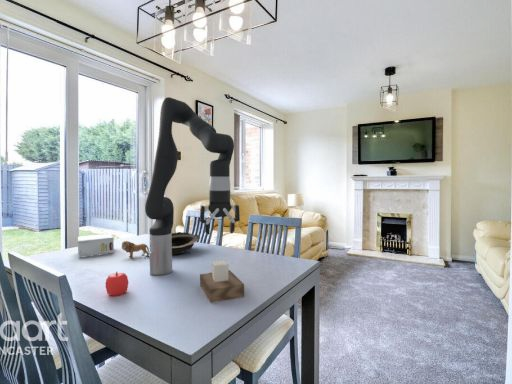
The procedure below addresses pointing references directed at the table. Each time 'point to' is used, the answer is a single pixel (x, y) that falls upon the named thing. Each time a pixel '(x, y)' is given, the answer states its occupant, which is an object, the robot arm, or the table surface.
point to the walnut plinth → (221, 287)
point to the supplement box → (95, 245)
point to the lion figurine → (134, 248)
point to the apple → (116, 284)
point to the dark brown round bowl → (183, 242)
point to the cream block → (220, 271)
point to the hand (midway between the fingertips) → (220, 233)
